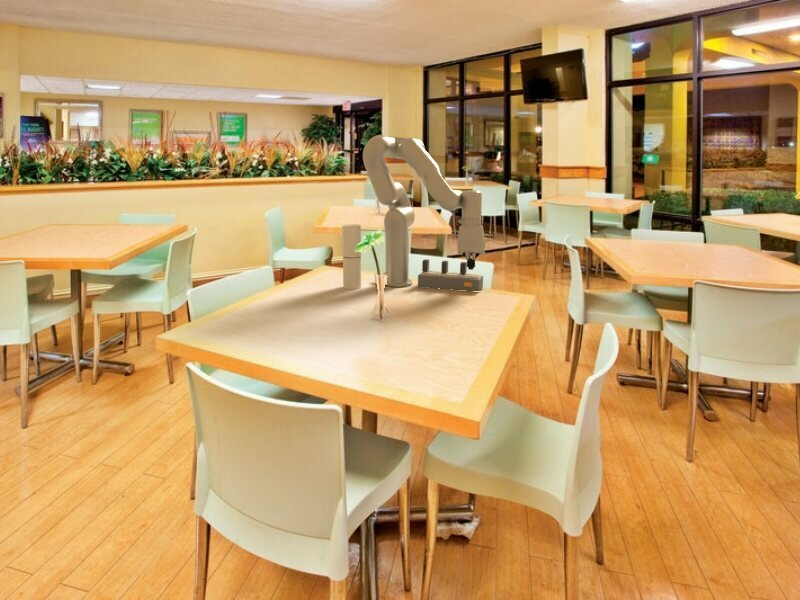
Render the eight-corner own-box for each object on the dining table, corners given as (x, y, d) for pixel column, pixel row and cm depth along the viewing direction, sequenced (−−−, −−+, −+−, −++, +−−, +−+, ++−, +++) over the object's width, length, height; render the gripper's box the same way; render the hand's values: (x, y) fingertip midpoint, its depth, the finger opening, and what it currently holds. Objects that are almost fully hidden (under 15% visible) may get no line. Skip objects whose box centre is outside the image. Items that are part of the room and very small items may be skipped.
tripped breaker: (459, 274, 217) (460, 263, 215) (461, 272, 219) (462, 261, 218) (464, 274, 216) (465, 263, 215) (466, 273, 219) (466, 262, 218)
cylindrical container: (345, 289, 216) (344, 226, 210) (342, 285, 223) (340, 224, 217) (362, 288, 218) (362, 226, 212) (359, 284, 225) (358, 224, 218)
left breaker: (422, 271, 221) (422, 260, 220) (424, 269, 224) (424, 259, 223) (427, 271, 221) (427, 260, 220) (429, 270, 223) (429, 259, 222)
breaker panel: (417, 287, 221) (417, 272, 219) (423, 283, 228) (423, 269, 227) (478, 292, 213) (479, 277, 211) (482, 288, 221) (483, 273, 219)
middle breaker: (441, 272, 219) (441, 261, 218) (443, 271, 222) (443, 260, 221) (446, 273, 218) (446, 262, 217) (448, 271, 221) (448, 260, 220)
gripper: (450, 223, 211) (450, 270, 215) (489, 224, 206) (488, 271, 210) (454, 221, 218) (454, 266, 222) (492, 221, 213) (491, 268, 217)
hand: (471, 269), depth 216 cm, fingers closed
